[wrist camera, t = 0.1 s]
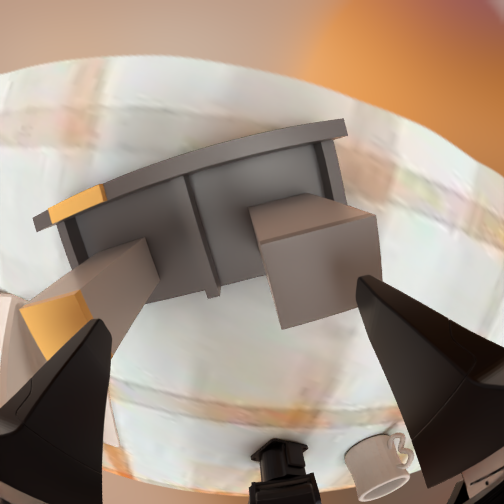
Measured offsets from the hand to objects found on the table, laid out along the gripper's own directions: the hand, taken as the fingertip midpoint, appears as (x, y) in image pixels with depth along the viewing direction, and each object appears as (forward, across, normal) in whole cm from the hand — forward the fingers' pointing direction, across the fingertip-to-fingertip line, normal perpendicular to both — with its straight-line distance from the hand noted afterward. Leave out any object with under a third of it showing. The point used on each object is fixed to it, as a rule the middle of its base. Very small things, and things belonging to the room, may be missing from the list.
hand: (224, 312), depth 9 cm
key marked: (+13, +10, +5) cm, 17 cm away
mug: (+5, -16, +43) cm, 46 cm away
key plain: (+14, -4, +4) cm, 15 cm away
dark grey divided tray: (+15, +3, +3) cm, 16 cm away
